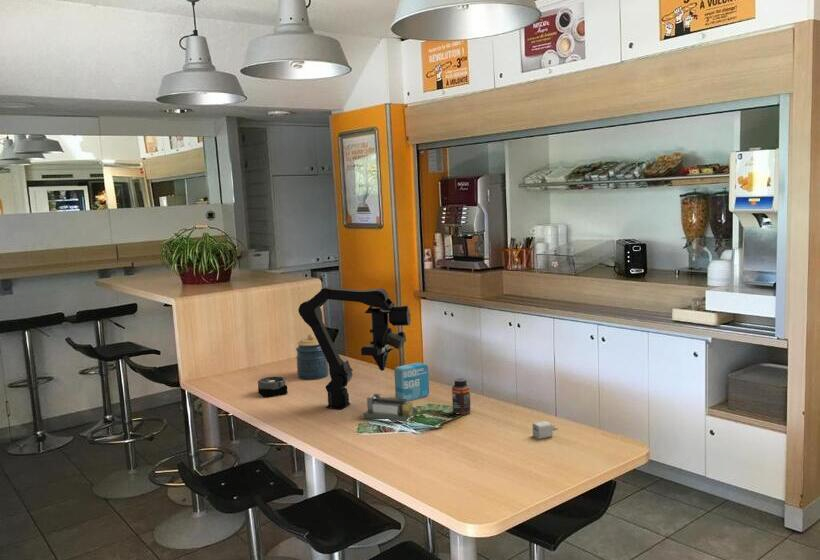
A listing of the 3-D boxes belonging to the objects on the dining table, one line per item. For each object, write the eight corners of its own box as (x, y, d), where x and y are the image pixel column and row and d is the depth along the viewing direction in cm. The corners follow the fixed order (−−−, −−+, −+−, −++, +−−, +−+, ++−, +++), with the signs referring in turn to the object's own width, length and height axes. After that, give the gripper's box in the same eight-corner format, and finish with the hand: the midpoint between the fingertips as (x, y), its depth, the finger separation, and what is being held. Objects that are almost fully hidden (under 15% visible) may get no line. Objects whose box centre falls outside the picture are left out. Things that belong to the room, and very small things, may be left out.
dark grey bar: (369, 402, 236) (369, 397, 236) (373, 400, 239) (373, 395, 239) (404, 404, 231) (403, 399, 231) (407, 402, 233) (407, 397, 233)
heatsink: (363, 419, 234) (362, 399, 233) (377, 410, 243) (376, 391, 242) (404, 423, 228) (403, 403, 227) (417, 414, 236) (416, 395, 236)
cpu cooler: (255, 378, 271) (280, 374, 276) (256, 393, 272) (281, 388, 276) (262, 384, 262) (289, 380, 267) (263, 399, 263) (289, 394, 267)
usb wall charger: (532, 435, 212) (532, 422, 211) (552, 432, 214) (552, 419, 213) (539, 439, 208) (539, 426, 207) (560, 436, 210) (559, 422, 210)
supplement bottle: (473, 410, 238) (472, 377, 236) (467, 416, 232) (465, 382, 231) (456, 409, 240) (455, 376, 239) (450, 414, 235) (448, 381, 233)
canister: (333, 372, 298) (331, 330, 296) (322, 380, 286) (320, 337, 284) (304, 371, 301) (301, 330, 299) (292, 379, 289) (289, 337, 286)
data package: (402, 402, 251) (401, 369, 249) (395, 399, 254) (393, 367, 253) (429, 395, 257) (428, 363, 256) (422, 393, 261) (421, 361, 260)
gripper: (389, 332, 231) (391, 378, 233) (412, 321, 248) (414, 365, 250) (359, 330, 236) (361, 376, 238) (384, 320, 252) (386, 363, 254)
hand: (382, 370), depth 245 cm, fingers closed
